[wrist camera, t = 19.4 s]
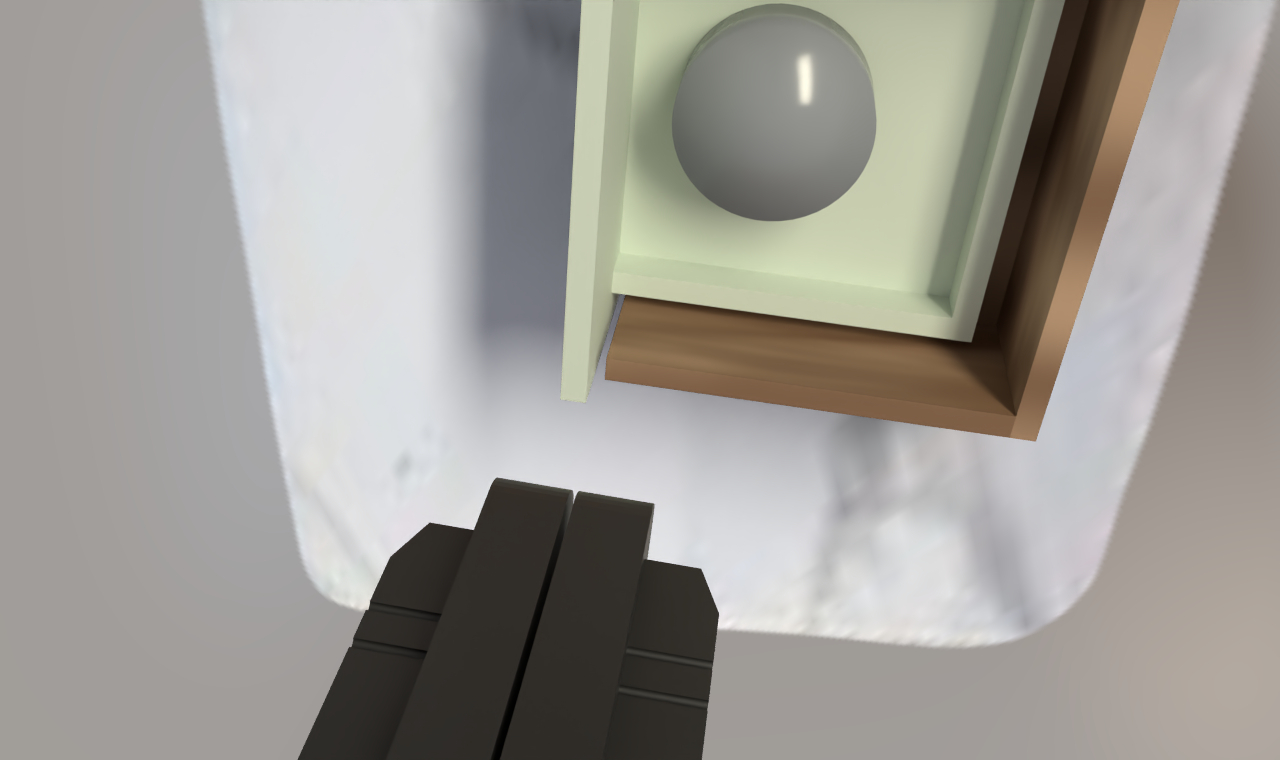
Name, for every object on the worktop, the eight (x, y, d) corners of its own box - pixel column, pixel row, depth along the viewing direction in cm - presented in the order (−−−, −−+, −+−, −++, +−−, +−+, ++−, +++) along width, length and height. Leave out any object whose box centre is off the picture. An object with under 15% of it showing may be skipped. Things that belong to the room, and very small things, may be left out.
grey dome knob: (895, 22, 36) (899, 46, 34) (848, 205, 39) (850, 237, 37) (696, -13, 36) (688, 9, 34) (667, 172, 39) (658, 202, 37)
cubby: (675, -220, 34) (648, -188, 29) (1163, -167, 33) (1220, -125, 28) (631, 289, 43) (604, 379, 38) (1012, 341, 43) (1035, 441, 38)
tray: (633, -227, 34) (591, -190, 28) (1092, -177, 33) (1147, -129, 27) (597, 291, 43) (560, 399, 38) (955, 341, 42) (974, 459, 37)
